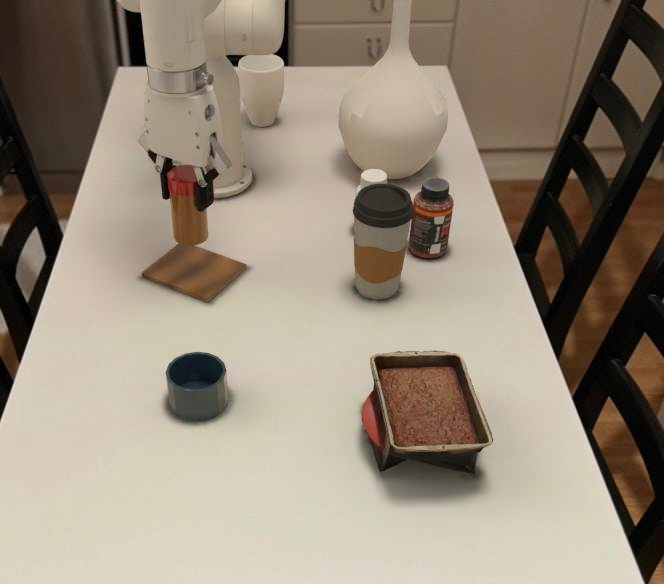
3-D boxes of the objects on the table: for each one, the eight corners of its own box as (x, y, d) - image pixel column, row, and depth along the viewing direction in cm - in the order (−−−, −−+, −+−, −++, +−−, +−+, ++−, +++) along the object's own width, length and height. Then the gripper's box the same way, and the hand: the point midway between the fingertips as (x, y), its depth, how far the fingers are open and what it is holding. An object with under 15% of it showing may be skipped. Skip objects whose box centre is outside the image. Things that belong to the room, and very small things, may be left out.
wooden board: (142, 277, 136) (141, 272, 136) (182, 245, 142) (181, 240, 142) (207, 302, 132) (207, 298, 131) (246, 268, 138) (246, 264, 137)
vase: (332, 142, 166) (339, -32, 146) (432, 140, 167) (453, -33, 146) (340, 194, 153) (349, 11, 133) (449, 191, 154) (474, 9, 133)
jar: (187, 223, 135) (181, 161, 128) (216, 233, 133) (212, 170, 126) (165, 239, 132) (159, 176, 125) (195, 250, 130) (189, 186, 123)
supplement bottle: (445, 262, 139) (454, 196, 131) (406, 257, 140) (413, 192, 132) (448, 240, 143) (457, 175, 135) (410, 236, 144) (417, 171, 136)
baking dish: (469, 407, 118) (472, 341, 113) (495, 496, 104) (500, 425, 98) (358, 415, 119) (355, 349, 113) (368, 504, 104) (366, 434, 99)
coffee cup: (411, 277, 136) (421, 187, 126) (397, 309, 130) (406, 218, 120) (357, 266, 138) (362, 177, 128) (341, 298, 132) (345, 207, 122)
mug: (285, 131, 169) (284, 71, 162) (240, 132, 169) (237, 71, 161) (283, 102, 178) (283, 44, 170) (240, 103, 178) (238, 44, 170)
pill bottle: (379, 219, 148) (383, 163, 141) (393, 236, 144) (398, 180, 137) (348, 225, 146) (351, 169, 140) (361, 242, 143) (365, 186, 136)
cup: (157, 407, 116) (153, 377, 112) (192, 374, 120) (189, 344, 117) (205, 428, 113) (202, 399, 110) (239, 394, 118) (237, 364, 114)
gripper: (250, 78, 115) (253, 206, 127) (142, 50, 122) (156, 174, 134) (215, 101, 110) (223, 231, 123) (106, 70, 117) (123, 196, 129)
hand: (188, 200), depth 128 cm, fingers closed on jar, 5 cm apart
